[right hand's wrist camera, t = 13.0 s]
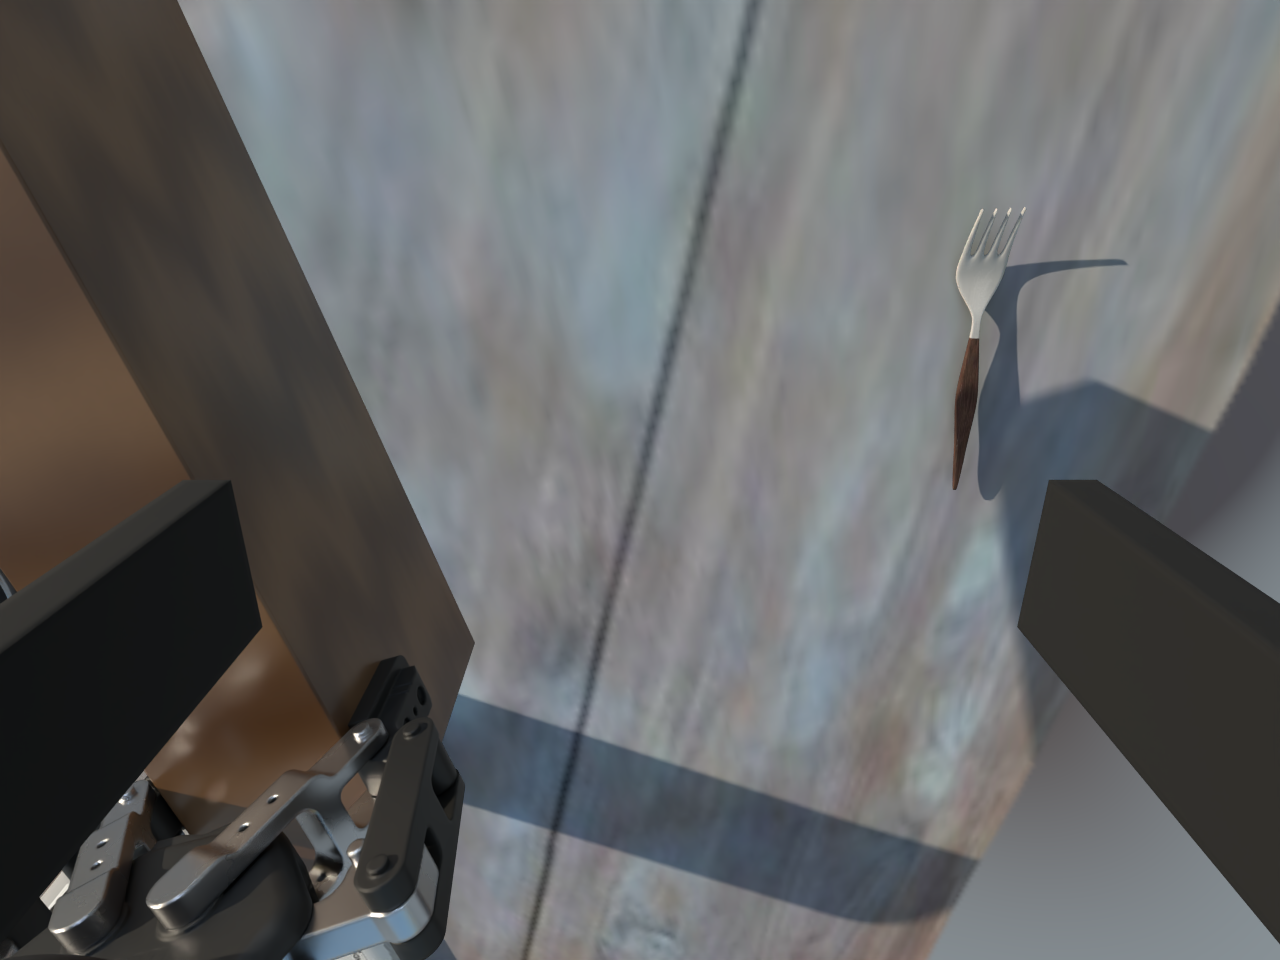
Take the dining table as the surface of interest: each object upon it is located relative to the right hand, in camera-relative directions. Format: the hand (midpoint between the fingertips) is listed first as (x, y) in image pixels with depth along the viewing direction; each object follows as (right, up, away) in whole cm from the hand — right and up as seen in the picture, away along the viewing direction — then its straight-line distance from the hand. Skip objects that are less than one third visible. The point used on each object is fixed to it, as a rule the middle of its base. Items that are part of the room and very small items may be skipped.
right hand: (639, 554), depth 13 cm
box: (-15, +5, +18) cm, 24 cm away
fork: (+18, +8, +31) cm, 37 cm away
